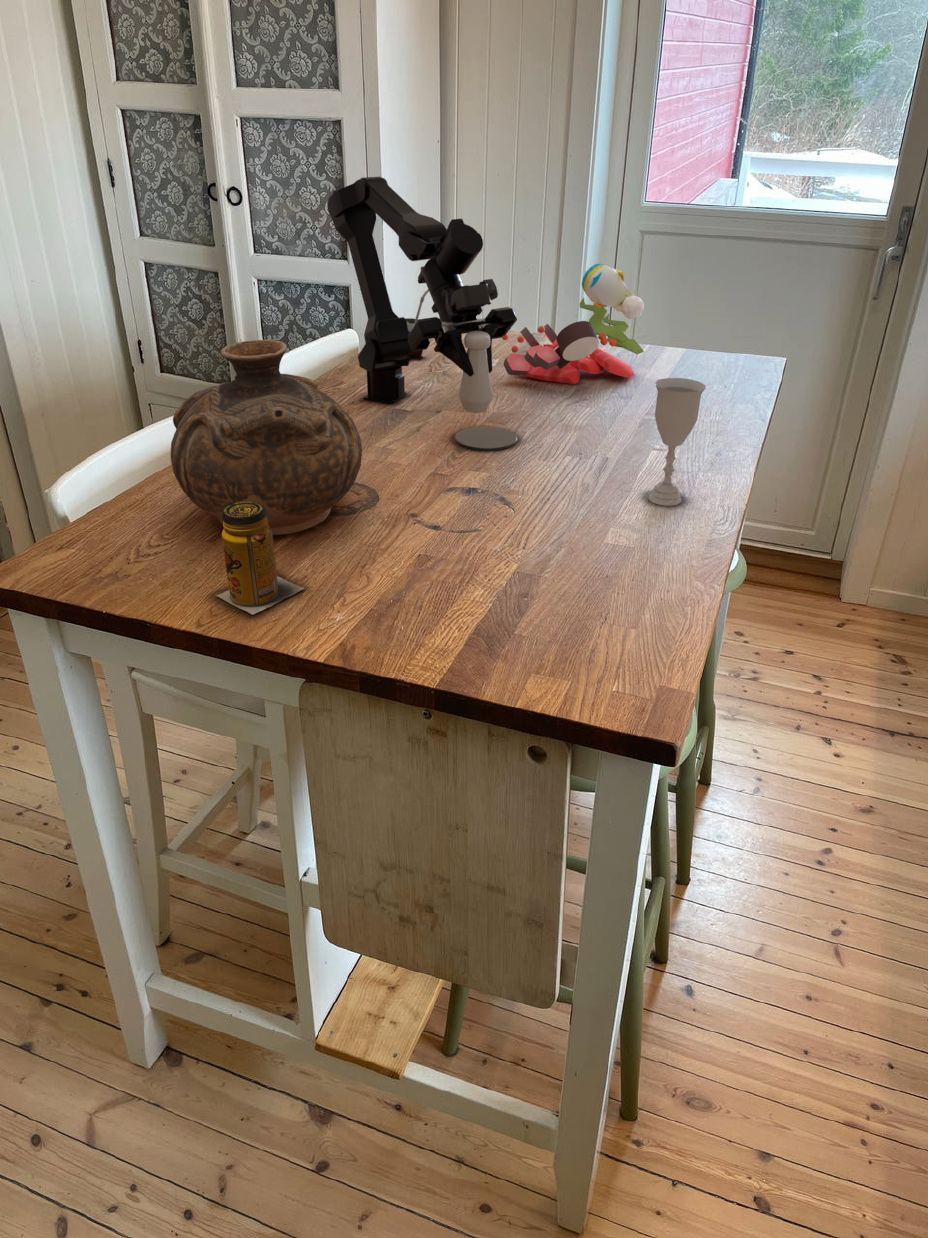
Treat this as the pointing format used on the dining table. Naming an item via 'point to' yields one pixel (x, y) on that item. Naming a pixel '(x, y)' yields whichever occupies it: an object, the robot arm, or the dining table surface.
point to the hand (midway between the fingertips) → (481, 373)
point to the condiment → (251, 559)
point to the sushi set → (582, 335)
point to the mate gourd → (411, 324)
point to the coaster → (486, 438)
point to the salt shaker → (476, 374)
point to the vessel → (265, 442)
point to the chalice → (674, 427)
